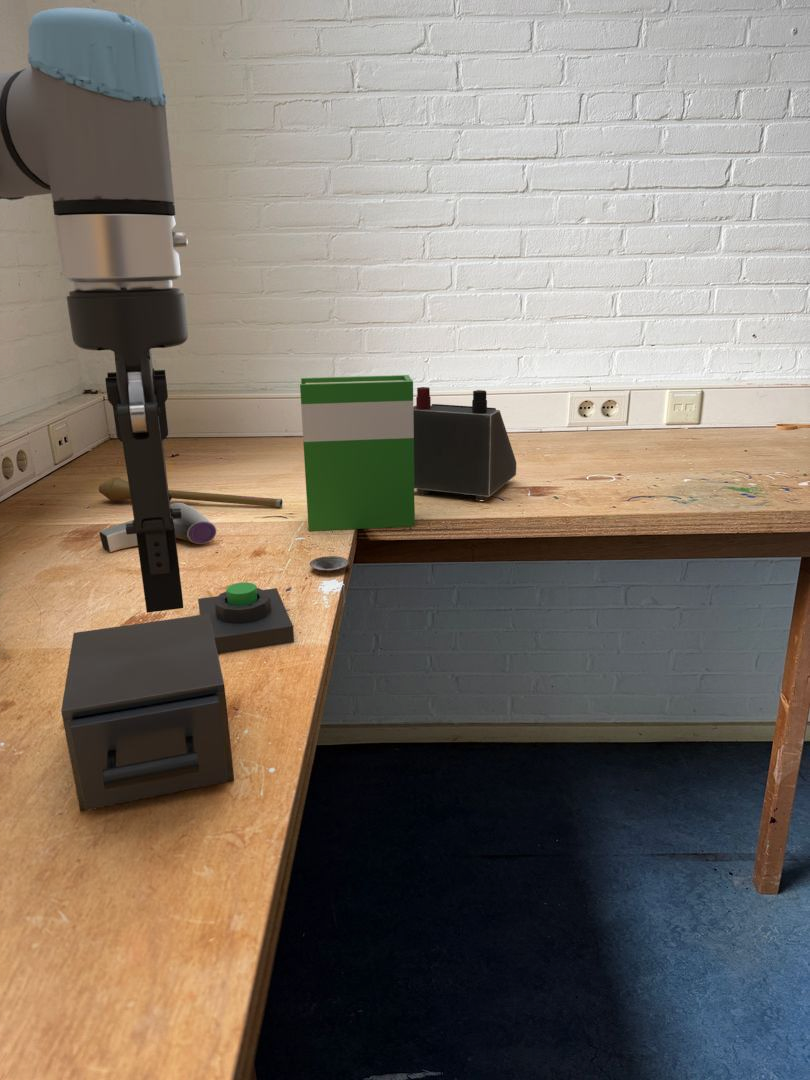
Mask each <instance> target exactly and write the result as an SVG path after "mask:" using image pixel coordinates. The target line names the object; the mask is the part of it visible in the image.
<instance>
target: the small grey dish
mask: <svg viewBox="0 0 810 1080" xmlns="http://www.w3.org/2000/svg"><path fill="white" fill-rule="evenodd" d="M309 562H310V563H309V566H310V567H311V568H313V569H315V570H318V571H325V572H326V573H327V572H333V571H335V570H340V569H343V568H345V567H347V566H348V565H349V563H350V560H348V559H347V558H346V557H343V556H336V555H328V556H327V555H326V556H321V557H317V558H314V559H312V560H311V561H309Z"/></svg>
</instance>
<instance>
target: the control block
mask: <svg viewBox="0 0 810 1080" xmlns="http://www.w3.org/2000/svg"><path fill="white" fill-rule="evenodd" d="M257 598H258V600H257V601H256V602H254V603H251V604H249V605H241V606H237V605H230V604H228V603H227V593H226V591H223V592H221V593H219V594H218V595H215V596H209V597H208V596H207V597H201V598H197V603H198V612H199V615H204V614H209V615H210V620H211V625H212V629H213V634H214V639H215V643H216V648H217V653H218V655H223V654H229V653H236V652H243V651H248V650H254V649H261V648H269V647H274V646H280V645H287V644H293V643H295V635H294V633H295V632H294V625H293V623H292V620H291V618H290V615H289V613H288V611H287V609H286V607H285V604H284V602H283V599H282V597H281V595H280V592H279V591H278V588H277V587H275V588H267V589H261V588H258V587H257Z"/></svg>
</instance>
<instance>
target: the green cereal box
mask: <svg viewBox="0 0 810 1080" xmlns="http://www.w3.org/2000/svg"><path fill="white" fill-rule="evenodd" d="M300 380H301V381H300V382H301V383H300V384H299V391H300V392H299V393H300V407H301V409H300V411H301V425H302V441H303V458H304V459H303V460H304V474H305V475H304V478H305V493H306V510H307V525H308V526H307V527H308V532H317V531H318V532H319V531H341V530H361V529H362V530H364V529H384V528H386V529H387V528H407V527H409V528H411V527H415V526H416V525H415V523H416V517H415V516H416V515H415V514H416V513H415V510H416V509H415V504H416V503H415V488H414V418H413V406H414V381H413V380H412V378H411V377H410V375H409V374H395V375H394V374H392V375H360V376H357V375H356V376H327V377H325V376H324V377H323V376H322V377H301V378H300Z"/></svg>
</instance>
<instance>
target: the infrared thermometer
mask: <svg viewBox="0 0 810 1080" xmlns="http://www.w3.org/2000/svg"><path fill="white" fill-rule="evenodd" d="M170 507H171V508H172V509H179V508H181V517H182V518H181V519H173V522H174V528H175V537H176V539H180V540H184V541H186V542H189V543H194V544H197V545H203V544H207V543H210V542H211V541H212V540H214V538H215V537H216V535H217V527H216V525H215V524H214V523H213V522H211V520H209V519H208V518H206V517H205V516H204V515H203V514H202V513H200V512H199V511H198V510H197V509H195V508H194V507H192V506H189V505H188V504H185V503H183V502H173V503H170ZM133 521H134V519H132V520H128V521H126V522H122V523H119V524H116V525H113V526H110V527H108V528H104V529H103V530H100V531H99V537H100V541H101V544H102V548H103V549H104V550H105V551H107V552H108V553H114V552H116V551H118V550H123V549H128V548H132V547H138V543H137V536H136V534H128V535H127V534H126V524H130V523H133Z"/></svg>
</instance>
